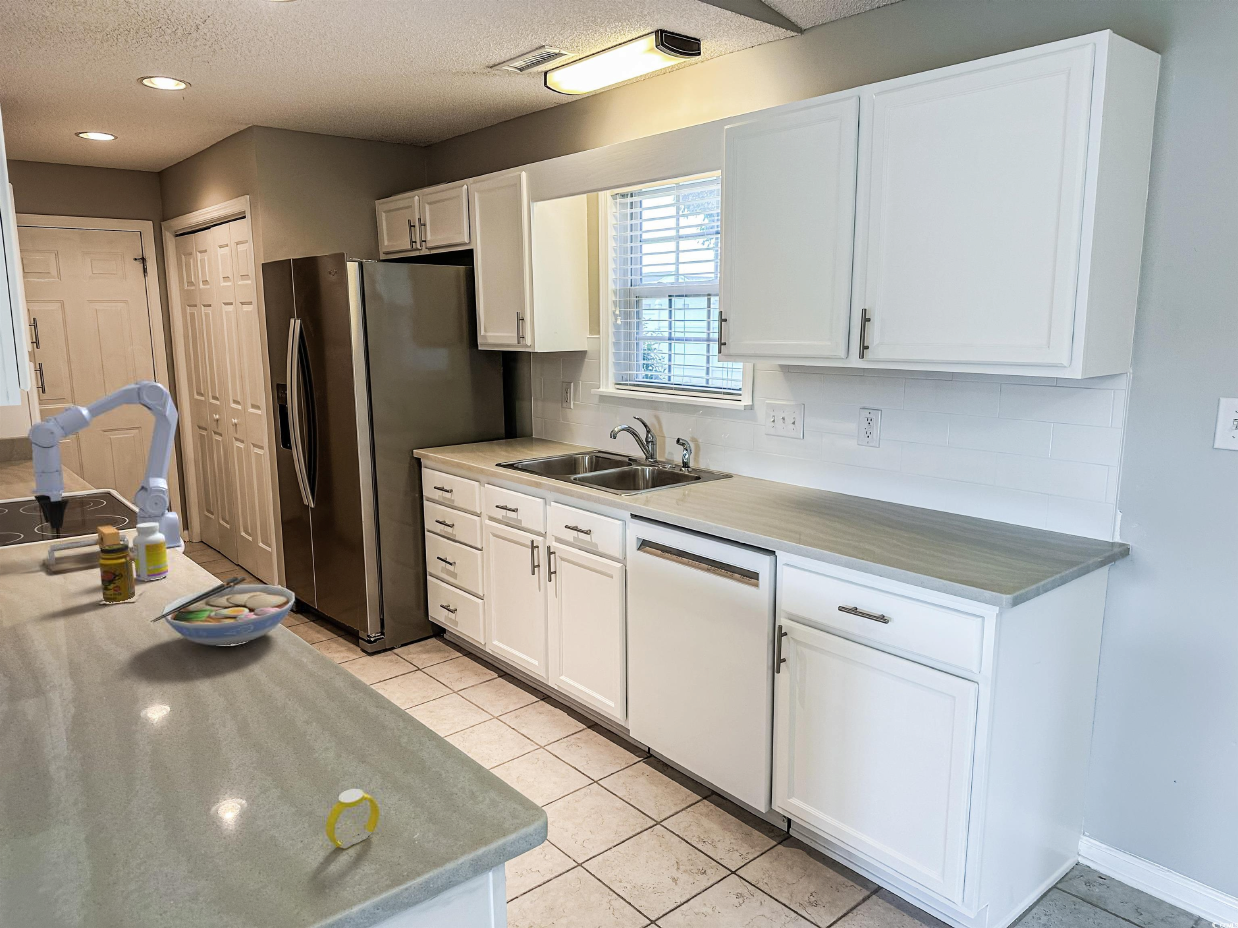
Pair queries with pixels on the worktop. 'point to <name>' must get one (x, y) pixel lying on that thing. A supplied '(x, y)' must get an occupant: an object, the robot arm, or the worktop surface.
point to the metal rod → (78, 546)
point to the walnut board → (76, 563)
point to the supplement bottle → (149, 552)
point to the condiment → (116, 573)
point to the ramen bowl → (229, 612)
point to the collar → (108, 535)
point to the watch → (351, 800)
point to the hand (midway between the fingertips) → (54, 525)
